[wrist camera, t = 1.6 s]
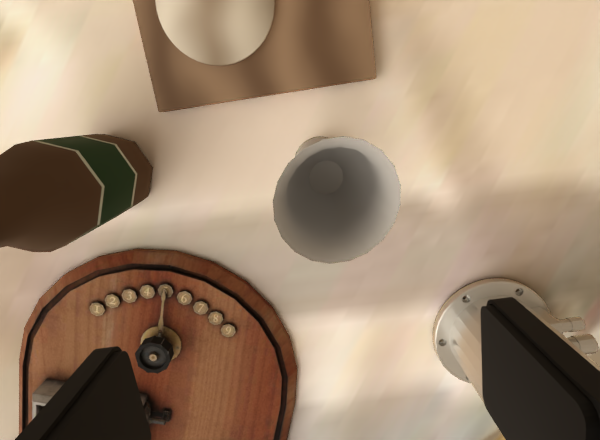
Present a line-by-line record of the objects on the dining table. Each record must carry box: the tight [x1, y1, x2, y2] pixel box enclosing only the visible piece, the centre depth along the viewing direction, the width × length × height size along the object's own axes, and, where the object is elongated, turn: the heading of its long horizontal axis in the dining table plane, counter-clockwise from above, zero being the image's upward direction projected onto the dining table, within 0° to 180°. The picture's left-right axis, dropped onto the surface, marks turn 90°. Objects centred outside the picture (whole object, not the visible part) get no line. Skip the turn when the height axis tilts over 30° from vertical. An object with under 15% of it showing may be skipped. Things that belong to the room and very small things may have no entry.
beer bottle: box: [0, 134, 153, 252], centre depth 28 cm, size 8×8×24 cm
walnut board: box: [133, 0, 376, 112], centre depth 35 cm, size 20×14×2 cm
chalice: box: [273, 136, 401, 264], centre depth 30 cm, size 7×7×18 cm
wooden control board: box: [19, 249, 297, 440], centre depth 43 cm, size 31×5×30 cm
